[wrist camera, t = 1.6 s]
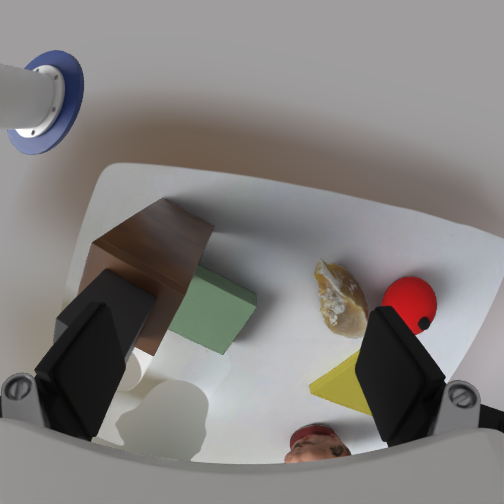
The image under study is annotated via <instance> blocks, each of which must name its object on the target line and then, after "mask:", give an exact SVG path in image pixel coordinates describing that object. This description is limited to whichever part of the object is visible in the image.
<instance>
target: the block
mask: <svg viewBox="0 0 504 504" xmlns="http://www.w3.org/2000/svg"><path fill="white" fill-rule="evenodd" d="M156 299H157V297H155V296H153V295H152V294H150V293H148V292H146V291H144V290H143V289H141V288H139V287H137V286H135V285H134V284H132V283H130V282H128V281H127V280H125V279H123V278H121V277H120V276H118V275H116V274H114V273H113V272H111V271H109V270H108V269H104V270H103V271H102V272H101V273H100V274H99V275H98V276H97V277H96V278H95V279H94V280H93V281H92V282H91V283H90V284H89V285H88V286H87V287H86V288H85V289H84V290H83V291H82V292H81V293H80V294H79V295H78V296H77V297H76V298H75V299H74V300H73V301H72V302H71V303H70V304H69V305H68V306H67V307H66V308H65V309H64V310H63V311H62V312H61V313H60V315H59V316H58V317H57V318H56V323H55V331H54V339H53V345H54V343H55V342H56V341H57V340H58V338H59V337H60V336H61V335H62V333H63V332H64V331H65V330H66V329H67V327H68V326H69V325H70V324H71V323H72V321H73V320H74V319H75V318H76V317H77V315H78V314H79V313H80V312H81V311H82V310H83V308H84V307H85V306H86V305H87V304H88V303H89V302H90V301H98V302H105V303H106V305H107V306H109V307H110V308H111V311H112V316H113V320H114V324H115V327H116V331H117V335H118V339H119V342H120V346H121V349H122V352H123V356H124V359H125V363H127V361H128V359H129V357H130V355H131V353H132V351H133V349H134V347H135V345H136V343H137V341H138V339H139V337H140V335H141V333H142V330H143V328H144V326H145V323H146V321H147V319H148V317H149V315H150V312H151V310H152V308H153V306H154V304H155V301H156Z"/></svg>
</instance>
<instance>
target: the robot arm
mask: <svg viewBox="0 0 504 504" xmlns="http://www.w3.org/2000/svg"><path fill="white" fill-rule="evenodd" d="M64 96H65V81H64V78H63V75H62V73H61V72H60V71H59V69H58V68H56V67H54V66H50V65H43V66H39V67H37V68H35V69H34V70H32V71H31V70H27V69H22V68H18V67H12V66H8V65H3V64H0V130H4V129H5V130H6V129H15V130H16V131H17V132H18V134H19V135H21V136H22V137H25V138H35V137H38V136H40V135H42V134H43V133H45V132H46V131H47V130H48V129H49V128H50V127H51V126H52V124H53V123H54V122H55V120H56V118H57V117H58V115H59V112H60V110H61V108H62V104H63V101H64ZM125 369H126V363H125V359H124V356H123V352H122V349H121V346H120V342H119V339H118V335H117V331H116V327H115V324H114V320H113V316H112V311H111V308H110V307H109V306H107V305H106V303H105V302H98V301H90V302H89V303H88V304H87V305H86V306H85V307H84V308H83V310H82V311H81V312H80V313H79V314H78V315H77V317H76V318H75V319H74V320H73V321H72V323H71V324H70V325H69V326H68V327H67V329H66V330H65V331H64V332H63V333H62V335H61V336H60V337H59V338H58V340H57V341H56V342H55V343H54V345H53V346H52V347H51V348H50V350H49V351H48V352H47V354H46V355H45V356H44V357H43V359H42V360H41V361H40V363H39V364H38V365H37V367H36V368H35V372H36V374H37V375H36V376H35V378H34V377H33V376H32V375H30V374H28V373H16V374H14V375H12V376H10V377H9V378H8V379H6V381H5V382H4V383H3V385H2V388H1V396H0V504H504V412H503V411H500V410H497V409H494V408H491V407H488V406H485V405H482V404H480V403H481V400H480V394H479V392H478V390H477V389H476V388H475V387H474V386H473V385H471V384H470V383H468V382H466V381H461V380H455V381H451V382H449V383H448V384H447V385H446V383H445V382H444V380H445V378H446V376H445V375H444V374H443V372H442V371H441V369H440V368H439V367H438V365H437V364H436V362H435V361H434V360H433V358H432V357H431V356H430V354H429V353H428V352H427V350H426V349H425V348H424V346H423V345H422V344H421V342H420V341H419V340H418V338H417V337H416V336H415V334H414V333H413V332H412V331H411V329H410V328H409V327H408V325H407V324H406V323H405V322H404V320H403V319H402V318H401V317H400V315H399V314H398V313H397V312H396V310H395V309H394V308H393V307H392V306H377V307H376V308H375V309H374V310H373V311H371V312H370V315H369V319H368V323H367V327H366V331H365V334H364V338H363V341H362V345H361V348H360V352H359V355H358V358H357V362H356V365H355V374H356V377H357V379H358V382H359V384H360V387H361V389H362V391H363V394H364V396H365V399H366V401H367V404H368V406H369V409H370V411H371V414H372V416H373V419H374V421H375V424H376V426H377V429H378V431H379V434H380V436H381V439H382V441H383V442H387V445H388V448H384V449H380V450H375V451H370V452H366V453H361V454H356V455H350V456H344V457H338V458H331V459H324V460H316V461H307V462H295V463H280V464H218V463H203V462H192V461H183V460H174V459H167V458H160V457H153V456H148V455H143V454H138V453H132V452H128V451H123V450H119V449H115V448H111V447H107V446H103V445H99V444H96V443H92V442H91V440H92V437H96V436H97V434H98V432H99V429H100V427H101V424H102V422H103V420H104V417H105V415H106V413H107V410H108V408H109V406H110V403H111V401H112V399H113V396H114V394H115V392H116V390H117V387H118V385H119V383H120V381H121V379H122V376H123V374H124V372H125Z"/></svg>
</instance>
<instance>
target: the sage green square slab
mask: <svg viewBox="0 0 504 504" xmlns="http://www.w3.org/2000/svg"><path fill="white" fill-rule="evenodd" d="M256 308H257V296H256V294H254V293H252V292H250V291H248V290H246V289H244V288H243V287H241V286H239V285H237V284H235V283H233V282H231V281H229V280H227V279H225V278H223V277H221V276H219V275H217V274H215V273H214V272H212V271H210V270H208V269H206V268H204V267H202V266H200V265H198V266H197V268H196V271H195V273H194V275H193V278H192V280H191V283H190V285H189V288H188V290H187V293H186V295H185V297H184V299H183V301H182V303H181V305H180V307H179V309H178V311H177V312H176V314H175V316H174V318H173V320H172V322H171V324H170V326H169V328H168V329H169V330H171V331H173V332H175V333H177V334H179V335H181V336H183V337H185V338H187V339H189V340H191V341H193V342H195V343H198V344H200V345H202V346H204V347H206V348H208V349H211V350H213V351H215V352H217V353H220V354H222V355H223V354H224V353H225V352H226V350H227V349H228V347H229V346H230V345H231V343H232V342H233V340H234V339H235V338H236V336H237V335H238V333H239V332H240V331H241V329H242V328H243V326H244V325H245V323H246V322H247V321H248V319H249V318H250V316H251V315H252V313H253V312H254V311H255V309H256Z"/></svg>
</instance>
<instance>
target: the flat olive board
mask: <svg viewBox="0 0 504 504" xmlns="http://www.w3.org/2000/svg"><path fill="white" fill-rule="evenodd" d="M359 352H360V350H359V351H357V352H356V353H355V354H353V355H352V356H351V357H349V358H348V359H347V360H345V361H344V362H343V363H341V364H340V365H338V366H337V367H335V368H334V369H333V370H331V371H330V372H328V373H327V374H325V375H324V376H322V377H321V378H319V379H318V380H316V381H315V382H313V383H312V384H310V385H309V387H310V392H311V394H313V395H316V396H318V397H321V398H324V399H326V400H329V401H331V402H334V403H337V404H340V405H342V406H345V407H348V408H351V409H354V410H356V411H359V412H362V413H365V414H368V415H371V416H372V414H371V411H370V409H369V406H368V404H367V401H366V399H365V396H364V394H363V391H362V389H361V387H360V384H359V382H358V379H357V377H356V374H355V365H356V362H357V358H358V355H359Z"/></svg>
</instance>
